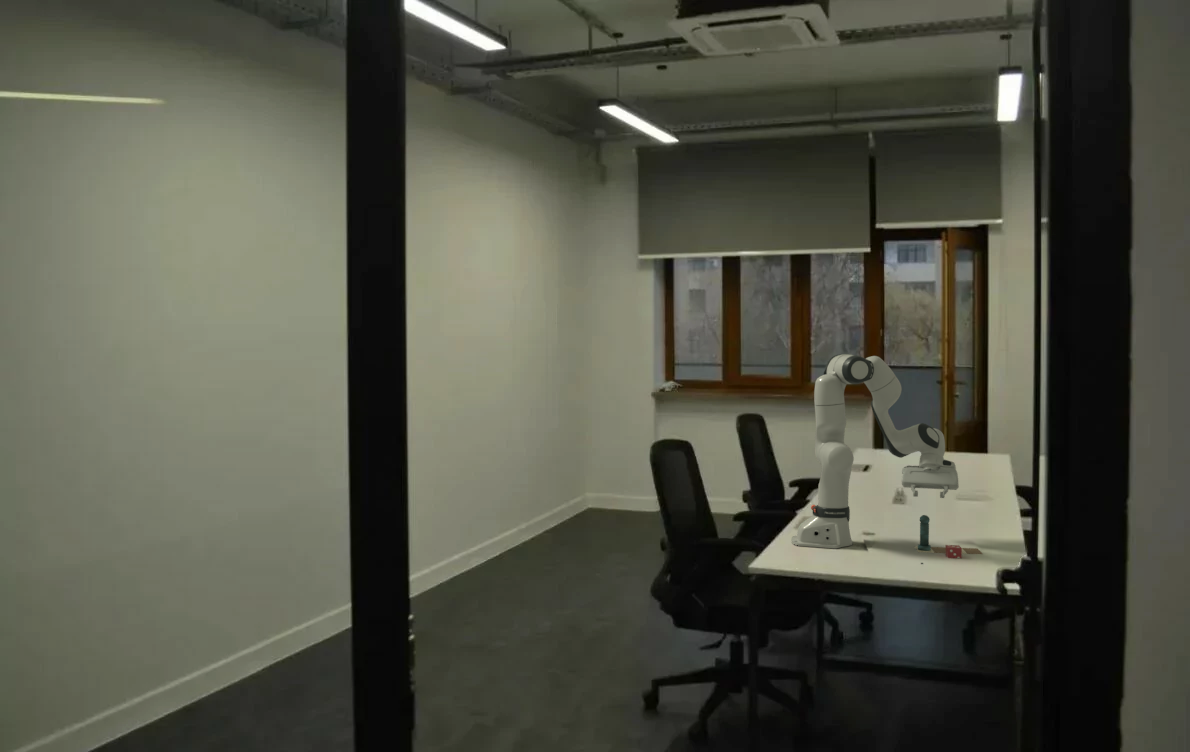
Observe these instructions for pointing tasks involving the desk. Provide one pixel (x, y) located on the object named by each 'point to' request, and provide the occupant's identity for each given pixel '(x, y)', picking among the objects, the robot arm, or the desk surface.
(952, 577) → the desk surface
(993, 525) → the desk surface
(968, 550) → the board
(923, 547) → the pawn
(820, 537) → the robot arm
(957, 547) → the die
